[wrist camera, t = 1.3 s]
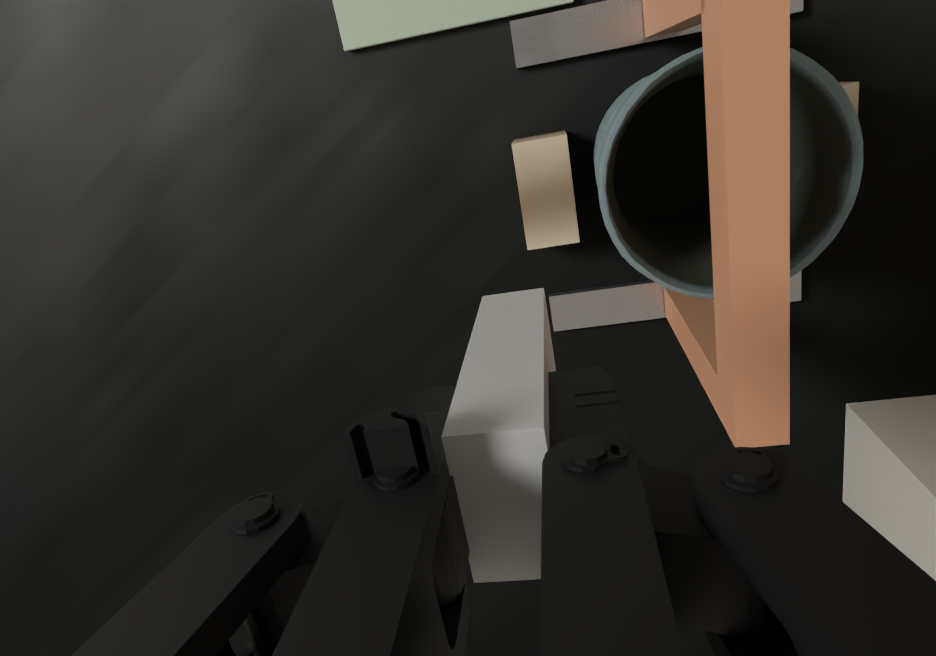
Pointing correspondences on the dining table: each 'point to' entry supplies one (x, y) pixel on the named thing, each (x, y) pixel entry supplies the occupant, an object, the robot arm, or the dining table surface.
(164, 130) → the dining table surface
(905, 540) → the light grey box
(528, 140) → the beige rectangular block
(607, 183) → the grey open tube
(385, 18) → the coaster
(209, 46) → the dining table surface
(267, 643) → the robot arm
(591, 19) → the rails
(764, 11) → the wooden arch
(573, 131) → the dining table surface
